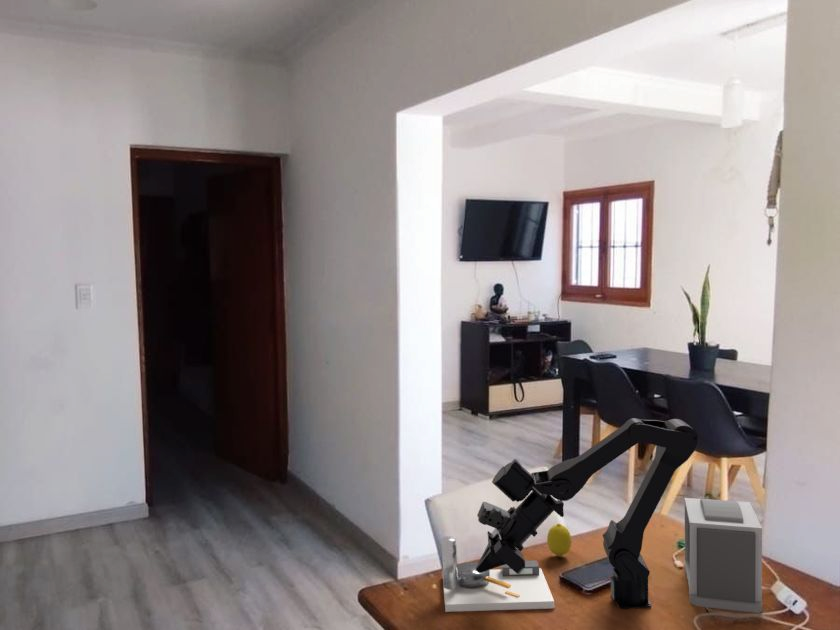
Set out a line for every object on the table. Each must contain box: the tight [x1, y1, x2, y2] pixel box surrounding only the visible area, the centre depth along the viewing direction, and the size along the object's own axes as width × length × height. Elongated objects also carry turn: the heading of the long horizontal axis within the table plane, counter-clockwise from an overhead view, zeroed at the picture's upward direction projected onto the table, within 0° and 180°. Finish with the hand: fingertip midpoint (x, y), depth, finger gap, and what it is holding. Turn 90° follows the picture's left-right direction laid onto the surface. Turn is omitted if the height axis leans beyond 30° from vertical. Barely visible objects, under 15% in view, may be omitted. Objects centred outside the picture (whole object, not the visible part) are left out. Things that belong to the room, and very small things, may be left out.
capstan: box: [441, 535, 511, 589], centre depth 142 cm, size 14×12×11 cm
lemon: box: [546, 523, 572, 558], centre depth 160 cm, size 6×6×8 cm
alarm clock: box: [684, 497, 763, 614], centre depth 142 cm, size 18×13×18 cm
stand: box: [443, 560, 555, 613], centre depth 144 cm, size 22×15×4 cm
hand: (477, 570), depth 140 cm, fingers closed
